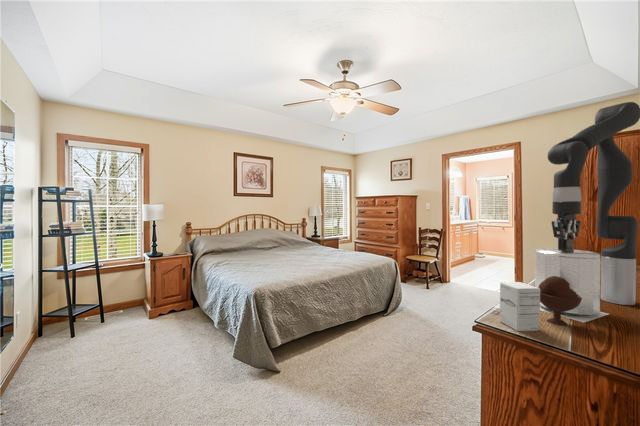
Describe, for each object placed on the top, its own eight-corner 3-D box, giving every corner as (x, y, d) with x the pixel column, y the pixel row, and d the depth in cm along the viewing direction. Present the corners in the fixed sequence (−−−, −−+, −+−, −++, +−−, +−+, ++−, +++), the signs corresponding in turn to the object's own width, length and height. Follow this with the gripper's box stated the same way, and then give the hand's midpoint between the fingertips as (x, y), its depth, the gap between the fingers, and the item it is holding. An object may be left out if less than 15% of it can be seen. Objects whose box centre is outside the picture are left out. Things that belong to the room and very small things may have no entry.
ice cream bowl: (590, 333, 81) (591, 281, 80) (546, 329, 83) (547, 278, 83) (566, 318, 91) (567, 272, 91) (527, 316, 93) (528, 271, 93)
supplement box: (498, 321, 89) (499, 281, 88) (520, 320, 89) (520, 281, 89) (516, 331, 81) (517, 288, 81) (540, 330, 82) (541, 287, 82)
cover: (550, 295, 110) (551, 235, 109) (609, 309, 94) (610, 240, 94) (524, 301, 102) (525, 237, 102) (583, 318, 87) (584, 242, 87)
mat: (550, 300, 109) (550, 299, 109) (609, 315, 94) (609, 314, 94) (524, 306, 102) (524, 305, 102) (583, 324, 87) (583, 322, 87)
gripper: (564, 201, 104) (563, 247, 104) (542, 200, 98) (542, 249, 98) (590, 200, 97) (590, 249, 98) (568, 200, 91) (568, 252, 92)
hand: (565, 249), depth 98 cm, fingers closed on cover, 4 cm apart
